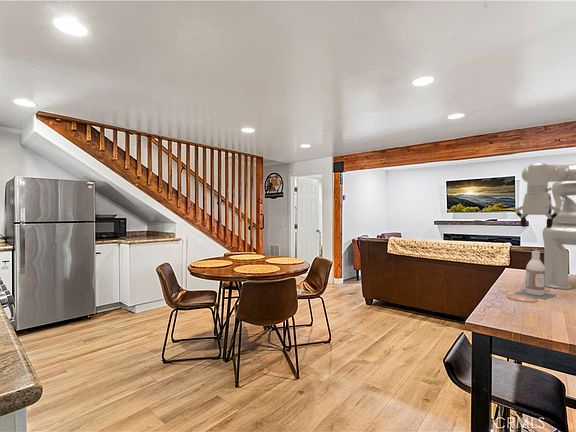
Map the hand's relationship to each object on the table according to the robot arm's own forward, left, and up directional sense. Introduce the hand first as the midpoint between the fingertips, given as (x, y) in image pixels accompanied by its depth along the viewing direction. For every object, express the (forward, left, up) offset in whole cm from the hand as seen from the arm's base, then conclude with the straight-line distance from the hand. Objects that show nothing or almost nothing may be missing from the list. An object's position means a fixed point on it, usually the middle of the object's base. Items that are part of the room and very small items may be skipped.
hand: (536, 227), depth 145 cm
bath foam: (0, 0, -32) cm, 31 cm away
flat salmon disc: (+13, 0, -32) cm, 34 cm away
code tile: (0, 0, -32) cm, 32 cm away
